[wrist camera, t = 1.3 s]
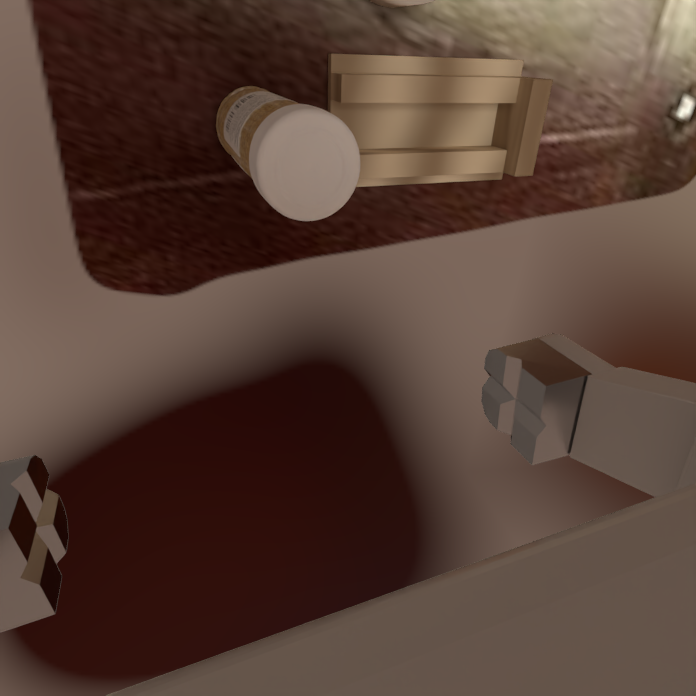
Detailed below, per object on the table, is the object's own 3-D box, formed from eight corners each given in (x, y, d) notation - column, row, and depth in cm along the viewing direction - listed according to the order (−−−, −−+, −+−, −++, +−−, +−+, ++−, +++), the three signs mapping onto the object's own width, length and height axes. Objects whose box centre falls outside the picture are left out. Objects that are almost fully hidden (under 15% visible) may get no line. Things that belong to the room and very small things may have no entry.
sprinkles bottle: (242, 176, 33) (294, 244, 22) (199, 110, 30) (233, 151, 19) (300, 137, 33) (380, 185, 22) (262, 68, 30) (332, 84, 19)
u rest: (326, 186, 35) (346, 201, 32) (328, 53, 31) (350, 55, 28) (497, 177, 39) (529, 190, 36) (518, 59, 35) (556, 62, 32)
